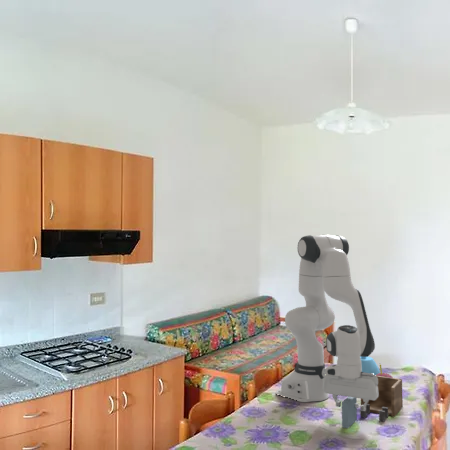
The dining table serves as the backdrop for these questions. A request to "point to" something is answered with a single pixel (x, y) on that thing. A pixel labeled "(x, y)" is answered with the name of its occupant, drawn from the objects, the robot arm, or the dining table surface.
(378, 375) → the cupcake
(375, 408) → the cabinet
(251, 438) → the dining table surface
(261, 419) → the dining table surface
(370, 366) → the sugar bowl
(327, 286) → the robot arm
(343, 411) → the door
